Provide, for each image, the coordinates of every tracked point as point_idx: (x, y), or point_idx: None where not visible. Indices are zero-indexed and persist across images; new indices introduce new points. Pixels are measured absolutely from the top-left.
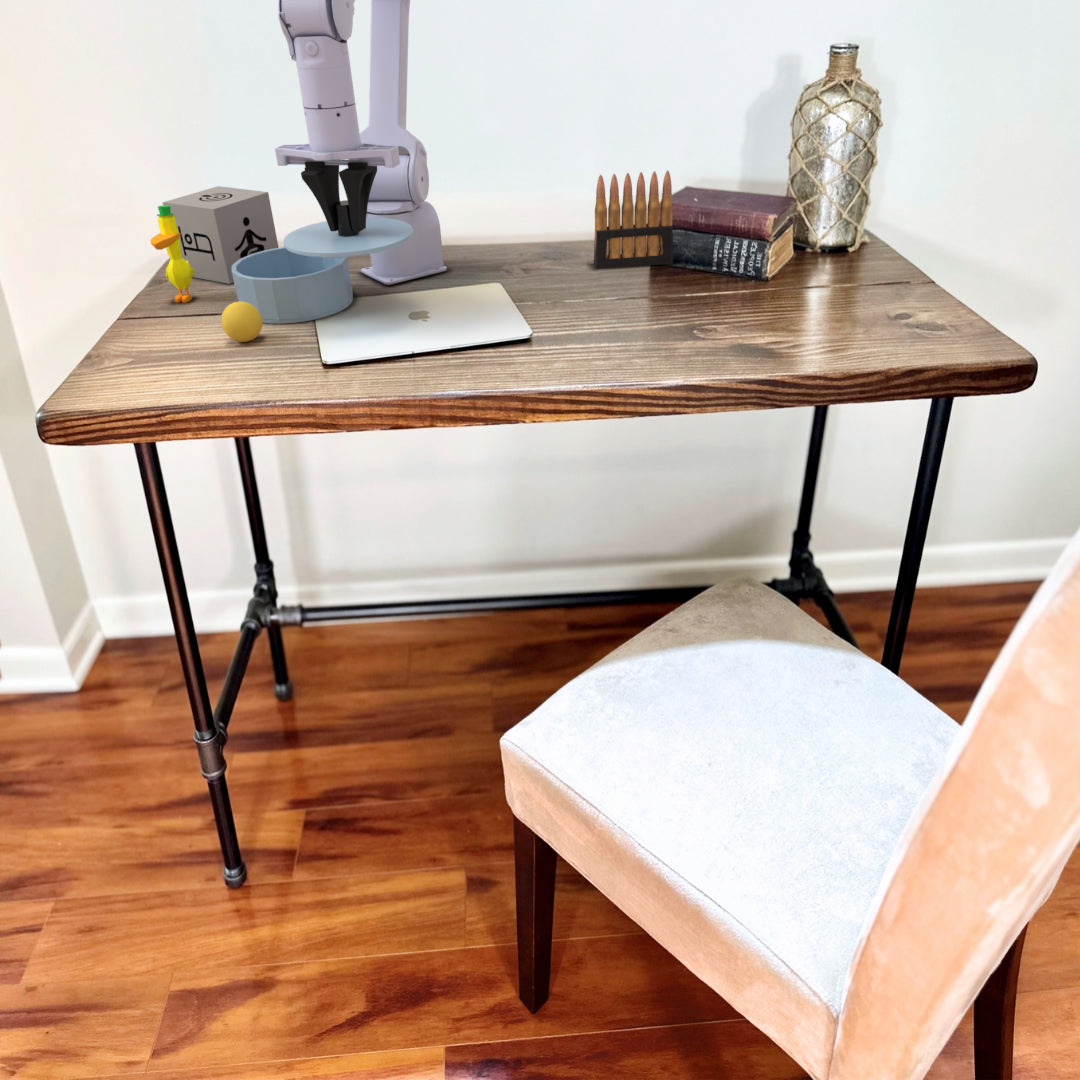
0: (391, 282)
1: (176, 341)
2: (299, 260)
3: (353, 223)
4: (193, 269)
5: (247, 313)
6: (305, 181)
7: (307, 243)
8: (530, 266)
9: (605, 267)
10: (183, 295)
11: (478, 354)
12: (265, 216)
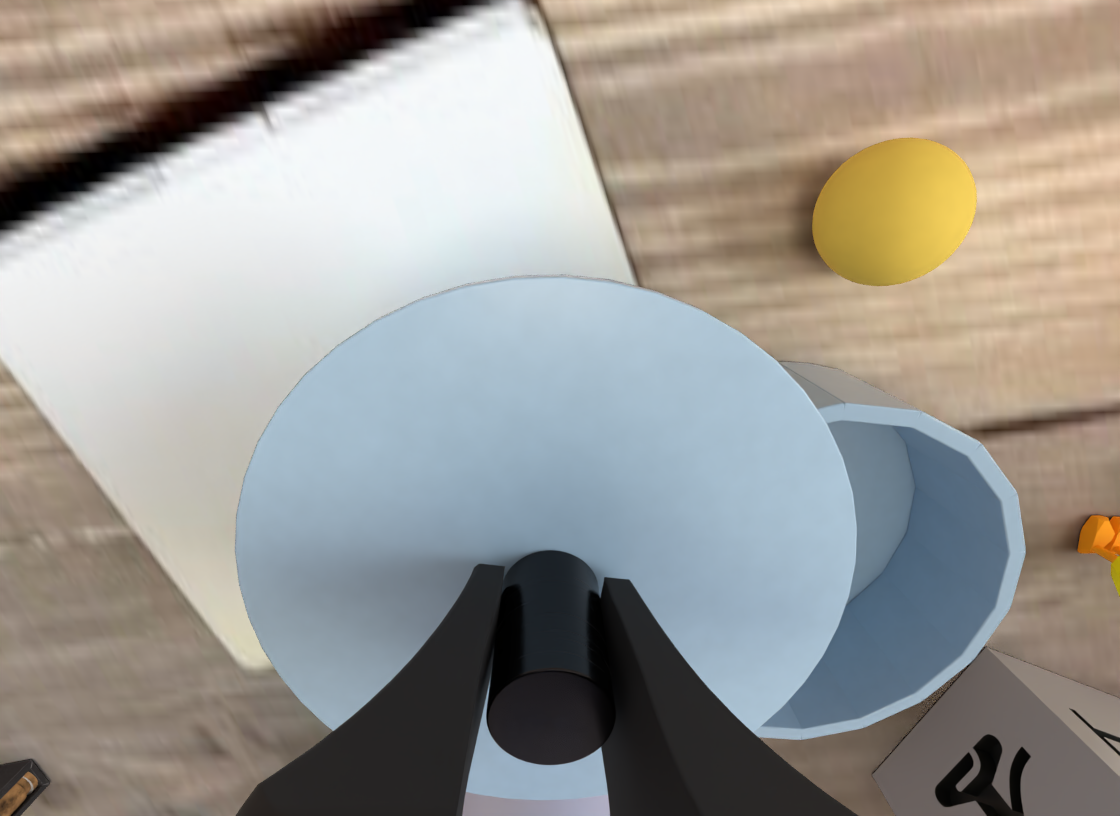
0: None
1: (1077, 203)
2: (805, 687)
3: (488, 584)
4: (1109, 705)
5: (877, 173)
6: (838, 809)
7: (715, 447)
8: (213, 771)
9: (7, 765)
10: (1108, 548)
11: (41, 108)
12: None
